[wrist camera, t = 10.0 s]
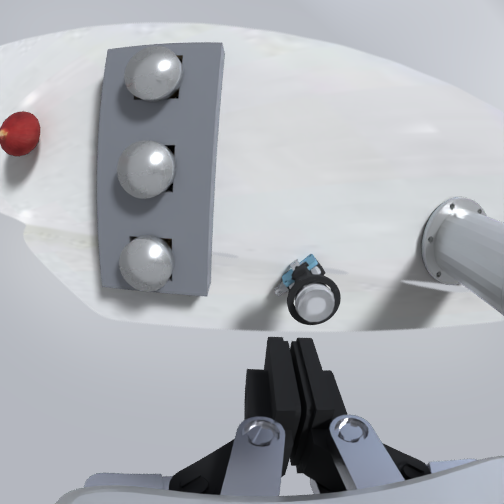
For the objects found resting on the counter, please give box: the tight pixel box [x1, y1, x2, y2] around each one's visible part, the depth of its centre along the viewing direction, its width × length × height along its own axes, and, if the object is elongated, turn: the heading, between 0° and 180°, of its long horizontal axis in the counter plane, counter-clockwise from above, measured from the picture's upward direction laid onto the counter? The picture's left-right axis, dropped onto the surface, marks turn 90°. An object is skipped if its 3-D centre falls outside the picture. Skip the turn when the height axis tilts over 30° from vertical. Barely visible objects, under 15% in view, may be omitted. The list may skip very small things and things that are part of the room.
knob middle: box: [117, 140, 176, 199], centre depth 32 cm, size 6×6×6 cm
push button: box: [274, 254, 341, 325], centre depth 35 cm, size 7×5×10 cm
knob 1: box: [124, 46, 184, 102], centre depth 29 cm, size 6×6×6 cm
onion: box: [0, 111, 40, 156], centre depth 30 cm, size 6×6×8 cm
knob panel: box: [97, 43, 225, 296], centre depth 34 cm, size 13×28×4 cm, turn 176°
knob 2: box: [119, 235, 175, 292], centre depth 35 cm, size 6×6×6 cm
